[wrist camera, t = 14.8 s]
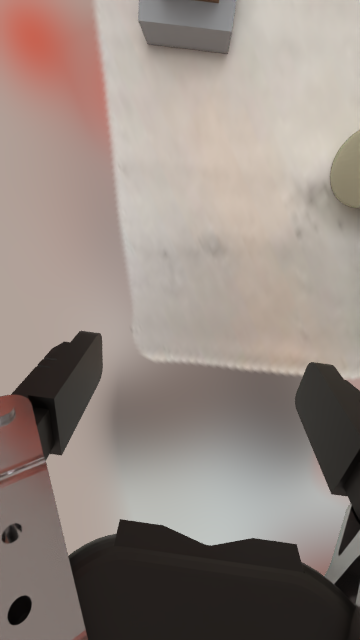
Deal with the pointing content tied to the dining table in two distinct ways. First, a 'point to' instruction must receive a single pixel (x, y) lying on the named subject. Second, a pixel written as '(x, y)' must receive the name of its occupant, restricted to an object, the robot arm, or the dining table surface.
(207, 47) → the base block
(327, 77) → the dining table surface
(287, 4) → the dining table surface
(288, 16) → the dining table surface
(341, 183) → the can
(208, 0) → the walnut brick
